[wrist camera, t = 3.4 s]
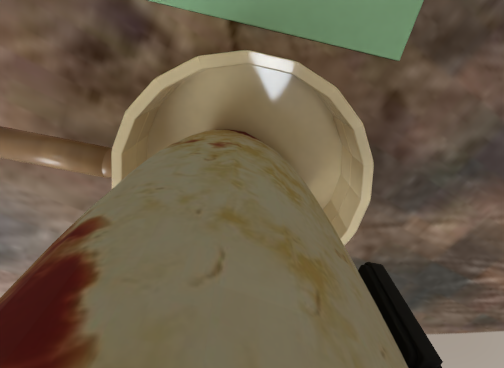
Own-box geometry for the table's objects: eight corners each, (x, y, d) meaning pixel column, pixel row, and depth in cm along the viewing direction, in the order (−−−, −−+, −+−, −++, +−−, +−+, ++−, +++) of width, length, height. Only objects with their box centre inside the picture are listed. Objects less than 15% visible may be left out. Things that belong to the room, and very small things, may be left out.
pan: (138, 231, 22) (113, 270, 18) (145, 27, 16) (108, 16, 12) (311, 261, 24) (324, 303, 20) (382, 82, 17) (421, 90, 13)
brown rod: (-7, 147, 17) (-36, 157, 15) (-13, 118, 16) (-44, 125, 14) (131, 173, 17) (118, 185, 16) (131, 147, 16) (118, 156, 15)
